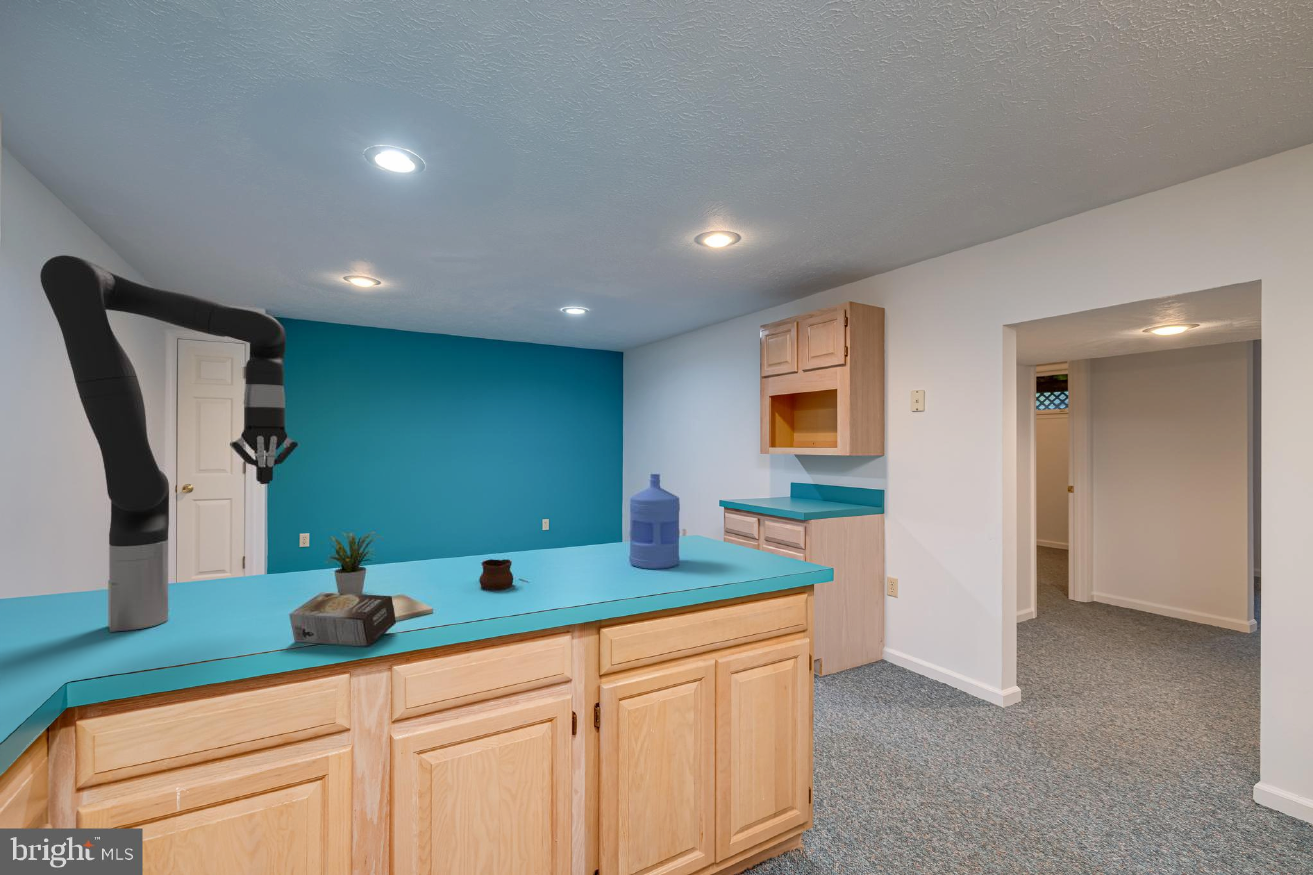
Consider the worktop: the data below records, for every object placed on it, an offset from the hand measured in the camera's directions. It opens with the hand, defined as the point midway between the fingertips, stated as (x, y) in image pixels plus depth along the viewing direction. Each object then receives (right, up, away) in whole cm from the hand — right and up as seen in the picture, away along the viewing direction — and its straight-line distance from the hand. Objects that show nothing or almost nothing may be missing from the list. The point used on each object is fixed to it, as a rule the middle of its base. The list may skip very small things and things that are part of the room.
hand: (264, 483), depth 128 cm
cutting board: (+25, -29, 0) cm, 38 cm away
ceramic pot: (+45, -30, +24) cm, 59 cm away
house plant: (+12, -29, +16) cm, 35 cm away
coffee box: (+17, -26, -13) cm, 34 cm away
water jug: (+87, -29, +52) cm, 105 cm away
